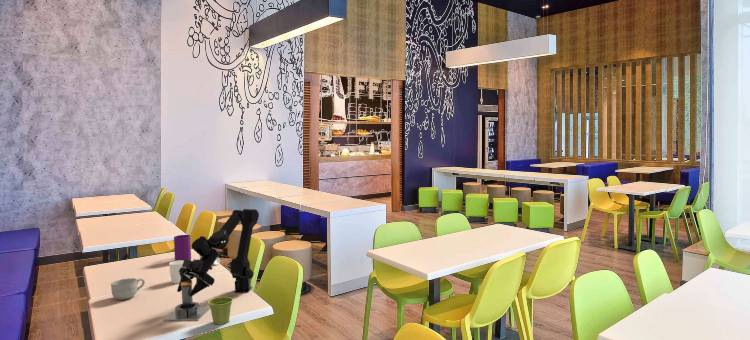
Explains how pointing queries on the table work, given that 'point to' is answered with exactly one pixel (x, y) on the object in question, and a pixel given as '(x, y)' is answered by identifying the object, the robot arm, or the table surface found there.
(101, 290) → the table surface
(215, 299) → the plant pot
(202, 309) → the rosette collar
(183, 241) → the purple box
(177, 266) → the white cup
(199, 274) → the robot arm
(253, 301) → the table surface
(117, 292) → the teacup
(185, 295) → the copper capped metal cylinder
